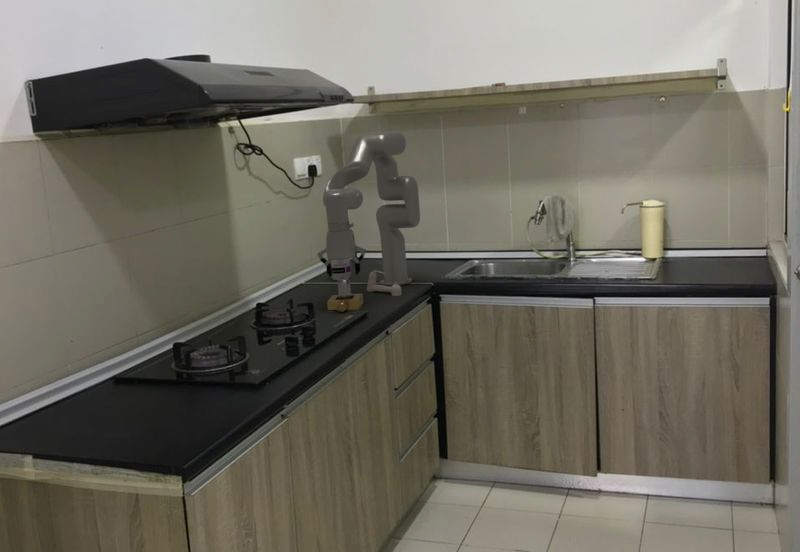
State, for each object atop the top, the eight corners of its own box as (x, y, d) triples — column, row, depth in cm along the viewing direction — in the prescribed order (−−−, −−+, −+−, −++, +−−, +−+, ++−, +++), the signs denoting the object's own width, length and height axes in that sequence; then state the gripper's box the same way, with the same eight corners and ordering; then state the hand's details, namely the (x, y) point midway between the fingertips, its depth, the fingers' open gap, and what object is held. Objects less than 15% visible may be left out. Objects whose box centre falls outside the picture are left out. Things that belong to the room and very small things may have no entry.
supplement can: (344, 276, 366) (341, 242, 364) (354, 278, 360) (351, 243, 357) (328, 279, 362) (324, 244, 359) (338, 281, 355) (335, 246, 352)
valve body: (335, 302, 313) (334, 293, 312) (364, 300, 311) (363, 291, 311) (326, 314, 294) (325, 304, 293) (357, 312, 293) (356, 302, 292)
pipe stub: (341, 306, 305) (338, 278, 303) (353, 305, 305) (350, 278, 303) (339, 308, 301) (336, 281, 299) (351, 308, 300) (348, 280, 299)
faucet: (393, 308, 317) (397, 284, 313) (364, 289, 328) (367, 266, 324) (401, 306, 319) (405, 282, 315) (372, 287, 331) (375, 264, 327)
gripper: (364, 223, 301) (369, 270, 304) (316, 227, 302) (321, 274, 306) (361, 226, 293) (366, 275, 297) (312, 230, 295) (318, 278, 299)
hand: (344, 274), depth 301 cm, fingers open, 9 cm apart
